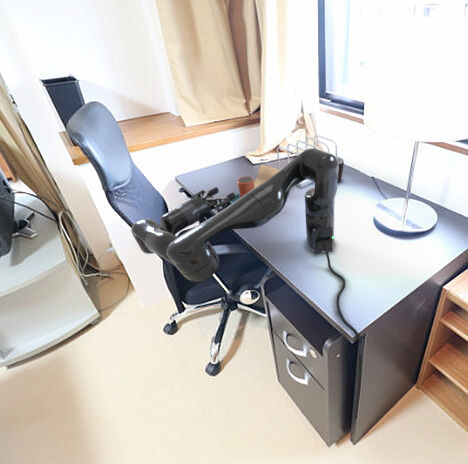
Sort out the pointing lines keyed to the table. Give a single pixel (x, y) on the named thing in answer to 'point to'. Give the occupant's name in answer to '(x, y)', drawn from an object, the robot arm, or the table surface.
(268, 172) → the wooden stand
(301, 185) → the file sorter
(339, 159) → the coffee mug
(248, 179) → the orange cylinder
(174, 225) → the robot arm
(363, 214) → the table surface
